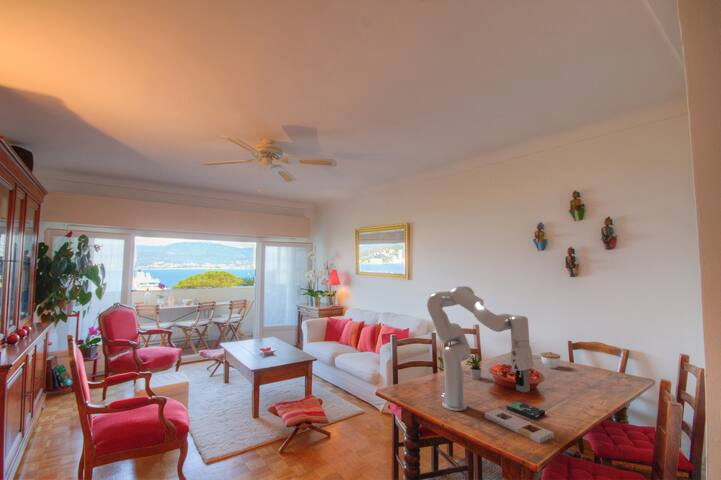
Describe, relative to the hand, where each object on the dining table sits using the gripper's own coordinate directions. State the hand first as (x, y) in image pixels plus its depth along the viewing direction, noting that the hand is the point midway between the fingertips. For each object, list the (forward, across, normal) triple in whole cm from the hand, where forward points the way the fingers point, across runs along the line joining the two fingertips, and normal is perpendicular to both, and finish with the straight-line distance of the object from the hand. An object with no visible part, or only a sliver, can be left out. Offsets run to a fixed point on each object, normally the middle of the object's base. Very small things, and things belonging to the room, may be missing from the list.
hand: (522, 384), depth 155 cm
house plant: (+19, +38, +62) cm, 75 cm away
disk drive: (+21, +18, +12) cm, 29 cm away
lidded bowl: (+20, +104, +49) cm, 117 cm away
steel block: (+3, 0, 0) cm, 3 cm away
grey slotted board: (+20, 0, +4) cm, 20 cm away
